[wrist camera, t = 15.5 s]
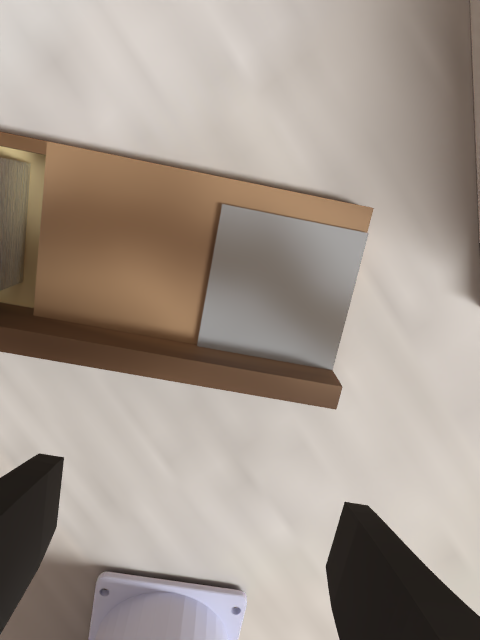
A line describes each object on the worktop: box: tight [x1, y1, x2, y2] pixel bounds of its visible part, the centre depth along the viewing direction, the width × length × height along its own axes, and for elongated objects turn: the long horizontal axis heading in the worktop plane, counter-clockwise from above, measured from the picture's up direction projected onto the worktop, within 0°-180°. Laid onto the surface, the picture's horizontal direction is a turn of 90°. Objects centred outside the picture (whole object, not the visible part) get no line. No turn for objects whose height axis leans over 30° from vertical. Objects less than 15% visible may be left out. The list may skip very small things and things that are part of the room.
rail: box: [0, 132, 373, 409], centre depth 18 cm, size 8×24×3 cm, turn 79°
